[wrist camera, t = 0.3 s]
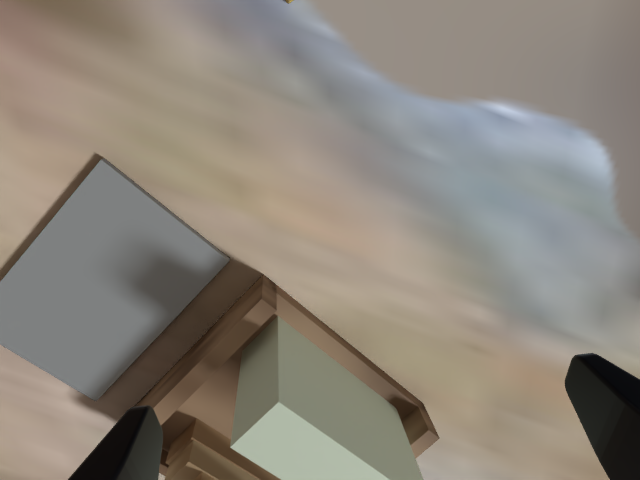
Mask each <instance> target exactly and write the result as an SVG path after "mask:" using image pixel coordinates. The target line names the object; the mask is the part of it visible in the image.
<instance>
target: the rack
mask: <svg viewBox="0 0 640 480" xmlns="http://www.w3.org/2000/svg"><path fill="white" fill-rule="evenodd" d="M277 316H279V317H280V318H281V319H283V320H284V321H285V322H287V323H288V324H289V325H290V326H292V327H293V328H294V329H295V330H297V331H298V332H299V333H301V334H302V335H303V336H304V337H306V338H307V339H308V340H310V341H311V342H312V343H313V344H315V345H316V346H317V347H319V348H320V349H321V350H322V351H324V352H325V353H326V354H328V355H329V356H330V357H331V358H333V359H334V360H335V361H336V362H338V363H339V364H340V365H342V366H343V367H344V368H345V369H347V370H348V371H349V372H351V373H352V374H353V375H354V376H356V377H357V378H358V379H360V380H361V381H362V382H363V383H365V384H366V385H367V386H369V387H370V388H371V389H372V390H374V391H375V392H376V393H377V394H379V395H380V396H381V397H383V398H384V399H385V400H386V401H388V402H389V403H390V404H392V405H393V406H394V407H395V408H396V409H397V412H398V414H399V417H400V419H401V422H402V425H403V427H404V430H405V433H406V435H407V438H408V440H409V443H410V446H411V448H412V451H413V454H414V456H415V459H416V458H417V457H418V456H419V455H420V454H422V453H423V452H424V451H425V450H426V449H428V448H429V447H430V446H431V445H432V444H434V443H435V442H436V441H437V440H438V439H439V436H438V434H437V432H436V430H435V428H434V426H433V423H432V421H431V419H430V417H429V415H428V413H427V411H426V409H425V406H424V404H423V403H422V402H421V401H419V400H418V399H417V398H416V397H414V396H413V395H412V394H411V393H409V392H408V391H407V390H406V389H405V388H403V387H402V386H401V385H400V384H398V383H397V382H396V381H395V380H393V379H392V378H391V377H390V376H388V375H387V374H386V373H385V372H383V371H382V370H381V369H380V368H379V367H377V366H376V365H375V364H374V363H372V362H371V361H370V360H369V359H367V358H366V357H365V356H364V355H362V354H361V353H360V352H359V351H358V350H356V349H355V348H354V347H353V346H351V345H350V344H349V343H348V342H346V341H345V340H344V339H343V338H341V337H340V336H339V335H338V334H336V333H335V332H334V331H333V330H332V329H330V328H329V327H328V326H327V325H325V324H324V323H323V322H322V321H320V320H319V319H318V318H317V317H315V316H314V315H313V314H312V313H310V312H309V311H308V310H307V309H306V308H304V307H303V306H302V305H301V304H299V303H298V302H297V301H296V300H294V299H293V298H292V297H291V296H289V295H288V294H287V293H286V292H284V291H283V290H282V289H281V288H280V287H278V286H277V285H276V284H275V283H273V282H272V281H271V280H270V279H268V278H267V277H266V276H265V275H262V276H261V277H260V278H259V279H258V280H257V281H256V282H255V283H254V284H253V285H252V286H251V288H250V289H249V290H248V291H247V292H246V293H245V294H244V295H243V296H242V297H241V298H240V299H239V300H238V301H237V302H236V303H235V304H234V305H233V306H232V307H231V308H230V309H229V310H228V311H227V312H226V313H225V314H224V315H223V316H222V317H221V318H220V319H219V320H218V321H217V322H216V323H215V324H214V325H213V326H212V327H211V328H210V330H209V331H208V332H207V333H206V334H205V335H204V336H203V337H202V338H201V339H200V340H199V341H198V342H197V343H196V344H195V345H194V346H193V347H192V348H191V349H190V350H189V351H188V352H187V353H186V354H185V355H184V356H183V357H182V358H181V359H180V360H179V361H178V362H177V363H176V364H175V365H174V366H173V367H172V368H171V369H170V370H169V372H168V373H167V374H166V375H165V376H164V377H163V378H162V379H161V380H160V381H159V382H158V383H157V384H156V385H155V386H154V387H153V388H152V389H151V390H150V391H149V392H148V393H147V394H146V395H145V396H144V397H143V398H142V399H141V400H140V401H139V402H138V403H137V404H136V405H135V406H134V407H136V406H144V405H150V406H151V407H153V409H154V411H155V414H156V416H157V418H158V421H159V423H160V425H161V428H162V431H163V443H162V451H161V460H160V468H159V473H161V474H163V475H164V476H166V474H167V470H168V467H169V465H168V464H166V459H167V456H168V453H169V449H170V446H171V443H172V442H173V441H174V440H175V439H176V438H177V437H178V436H179V435H180V434H181V433H182V432H183V431H184V430H185V429H186V428H187V427H188V426H189V425H190V424H191V423H192V422H193V421H194V420H195V419H196V418H197V419H199V420H201V421H202V422H204V423H205V424H207V425H208V426H210V427H212V428H213V429H215V430H216V431H218V432H219V433H221V434H223V435H224V436H226V437H227V438H229V439H230V440H231V436H232V428H233V420H234V412H235V405H236V397H237V389H238V381H239V373H240V365H241V358H242V351H243V350H244V349H245V348H246V347H247V346H248V345H249V344H250V343H251V342H252V341H253V340H254V339H255V338H256V337H257V336H258V335H259V334H260V333H261V332H262V331H263V330H264V329H265V328H266V327H267V326H268V325H269V324H270V323H271V322H272V321H273V320H274V319H275V318H276V317H277Z"/></svg>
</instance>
